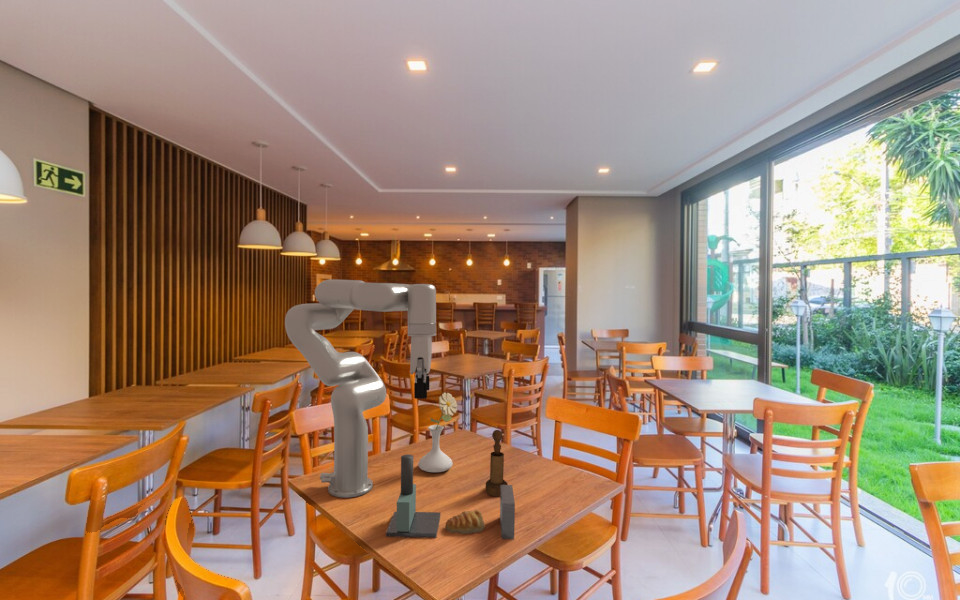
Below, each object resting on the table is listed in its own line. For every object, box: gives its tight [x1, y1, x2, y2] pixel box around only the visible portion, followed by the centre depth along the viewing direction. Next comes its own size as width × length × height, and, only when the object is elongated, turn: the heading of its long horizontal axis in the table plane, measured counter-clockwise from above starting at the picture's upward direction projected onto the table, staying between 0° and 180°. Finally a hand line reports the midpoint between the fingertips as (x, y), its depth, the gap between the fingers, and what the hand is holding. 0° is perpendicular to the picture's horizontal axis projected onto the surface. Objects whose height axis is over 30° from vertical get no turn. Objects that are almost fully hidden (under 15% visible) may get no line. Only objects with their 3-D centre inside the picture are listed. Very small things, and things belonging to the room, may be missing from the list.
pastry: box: [445, 509, 485, 535], centre depth 109 cm, size 9×7×4 cm
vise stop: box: [499, 484, 516, 540], centre depth 109 cm, size 3×10×8 cm, turn 179°
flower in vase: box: [417, 392, 458, 473], centre depth 145 cm, size 13×11×25 cm
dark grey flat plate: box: [385, 511, 441, 539], centre depth 109 cm, size 12×10×1 cm
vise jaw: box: [396, 454, 417, 532], centre depth 109 cm, size 3×10×16 cm, turn 0°
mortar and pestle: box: [484, 429, 509, 497], centre depth 129 cm, size 7×6×18 cm
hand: (422, 394), depth 117 cm, fingers open, 9 cm apart
